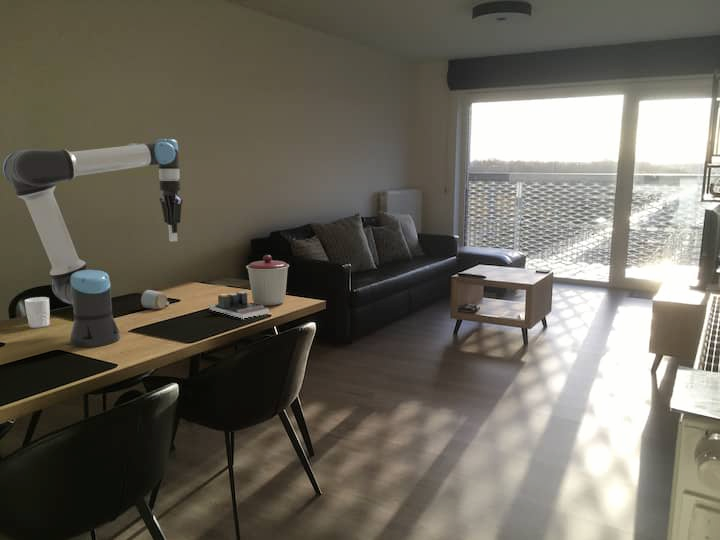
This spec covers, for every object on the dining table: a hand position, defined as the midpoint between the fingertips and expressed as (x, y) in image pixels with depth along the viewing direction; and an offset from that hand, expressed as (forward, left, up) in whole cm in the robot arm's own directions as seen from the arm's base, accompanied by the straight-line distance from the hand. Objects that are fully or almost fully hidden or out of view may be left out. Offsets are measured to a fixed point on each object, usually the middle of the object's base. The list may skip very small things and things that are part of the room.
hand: (173, 241), depth 222 cm
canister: (+36, -13, -30) cm, 48 cm away
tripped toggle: (+13, -12, -27) cm, 33 cm away
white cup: (-43, +24, -30) cm, 57 cm away
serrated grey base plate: (+18, -16, -29) cm, 38 cm away
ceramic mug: (0, +17, -30) cm, 34 cm away
